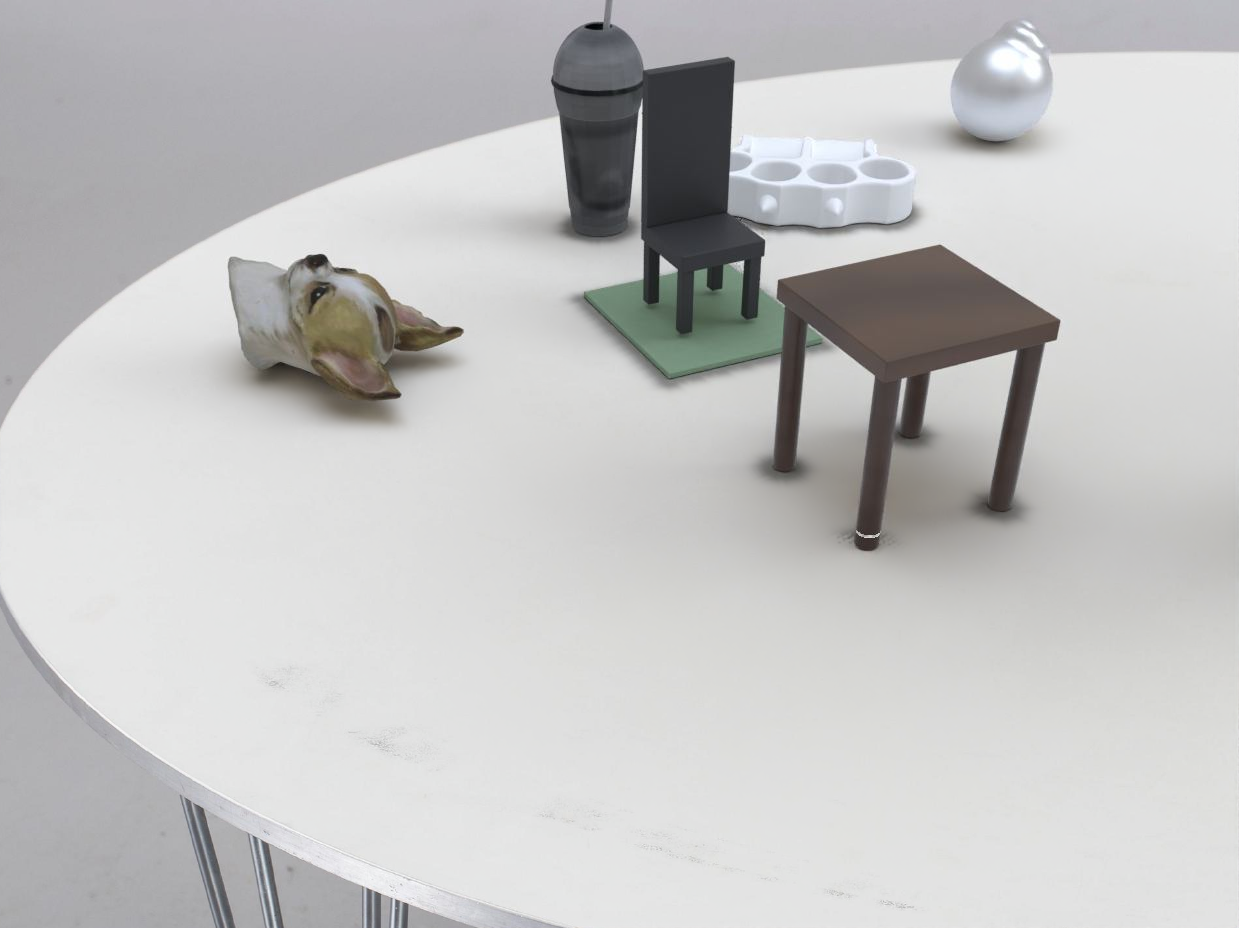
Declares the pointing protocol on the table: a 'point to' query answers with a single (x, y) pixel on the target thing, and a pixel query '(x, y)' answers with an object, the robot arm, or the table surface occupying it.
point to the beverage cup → (598, 122)
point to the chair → (692, 185)
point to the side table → (910, 354)
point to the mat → (695, 323)
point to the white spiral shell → (1004, 83)
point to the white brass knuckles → (817, 182)
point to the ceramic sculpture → (327, 323)
